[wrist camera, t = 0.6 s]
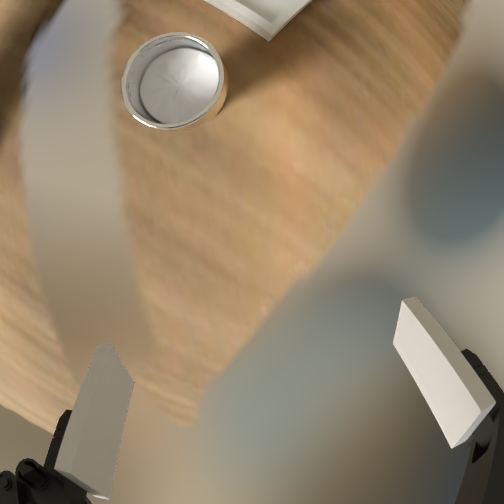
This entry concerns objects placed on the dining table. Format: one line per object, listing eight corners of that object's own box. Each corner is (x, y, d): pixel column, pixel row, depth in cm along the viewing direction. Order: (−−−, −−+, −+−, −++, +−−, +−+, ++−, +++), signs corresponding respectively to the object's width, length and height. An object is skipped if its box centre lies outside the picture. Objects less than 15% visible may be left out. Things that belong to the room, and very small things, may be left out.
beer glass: (186, 57, 26) (154, 15, 13) (241, 85, 28) (249, 57, 15) (155, 110, 29) (99, 107, 15) (208, 137, 31) (190, 152, 17)
